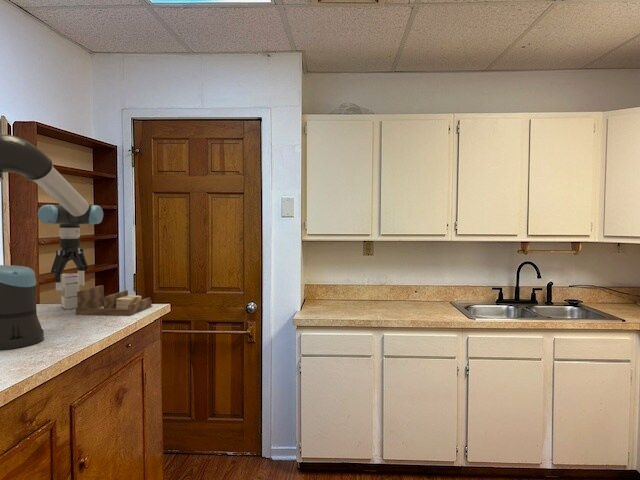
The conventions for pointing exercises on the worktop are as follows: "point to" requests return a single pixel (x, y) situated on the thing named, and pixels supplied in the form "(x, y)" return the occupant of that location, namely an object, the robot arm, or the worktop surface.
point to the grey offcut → (121, 307)
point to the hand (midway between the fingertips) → (70, 287)
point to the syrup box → (69, 290)
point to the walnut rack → (106, 303)
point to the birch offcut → (127, 300)
